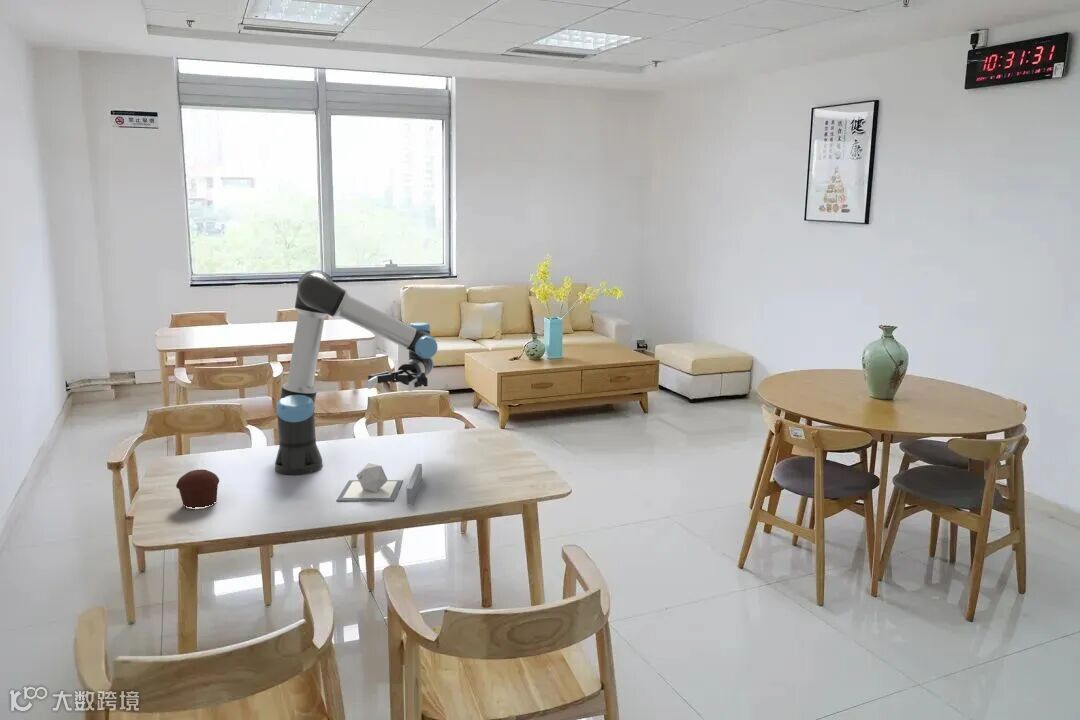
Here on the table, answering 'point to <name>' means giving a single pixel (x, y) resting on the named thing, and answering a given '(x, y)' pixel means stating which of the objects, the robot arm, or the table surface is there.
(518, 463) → the table surface
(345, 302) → the robot arm
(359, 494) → the mat
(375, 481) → the die
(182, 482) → the muffin
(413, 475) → the low wall
